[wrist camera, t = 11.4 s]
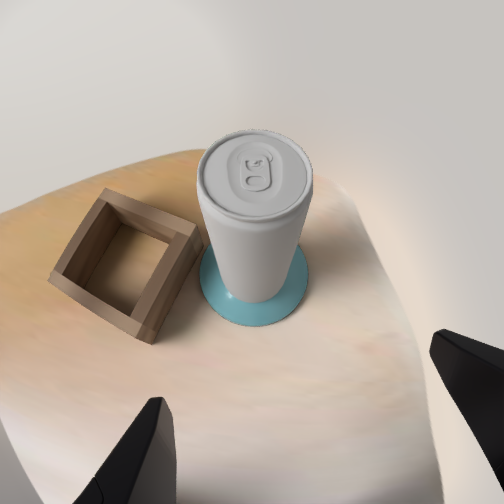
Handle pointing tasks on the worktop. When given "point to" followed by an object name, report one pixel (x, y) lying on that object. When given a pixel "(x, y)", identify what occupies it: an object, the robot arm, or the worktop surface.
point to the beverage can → (254, 208)
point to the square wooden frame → (95, 243)
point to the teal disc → (253, 312)
